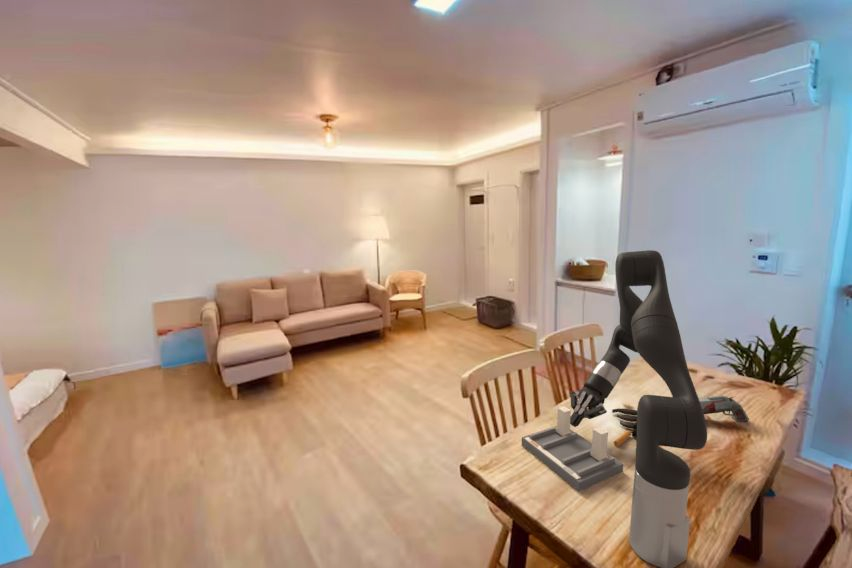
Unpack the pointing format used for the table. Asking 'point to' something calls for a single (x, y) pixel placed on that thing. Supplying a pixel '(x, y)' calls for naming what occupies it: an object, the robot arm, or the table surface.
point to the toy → (626, 424)
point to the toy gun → (723, 407)
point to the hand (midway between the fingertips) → (572, 424)
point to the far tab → (563, 421)
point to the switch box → (571, 457)
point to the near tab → (599, 444)
